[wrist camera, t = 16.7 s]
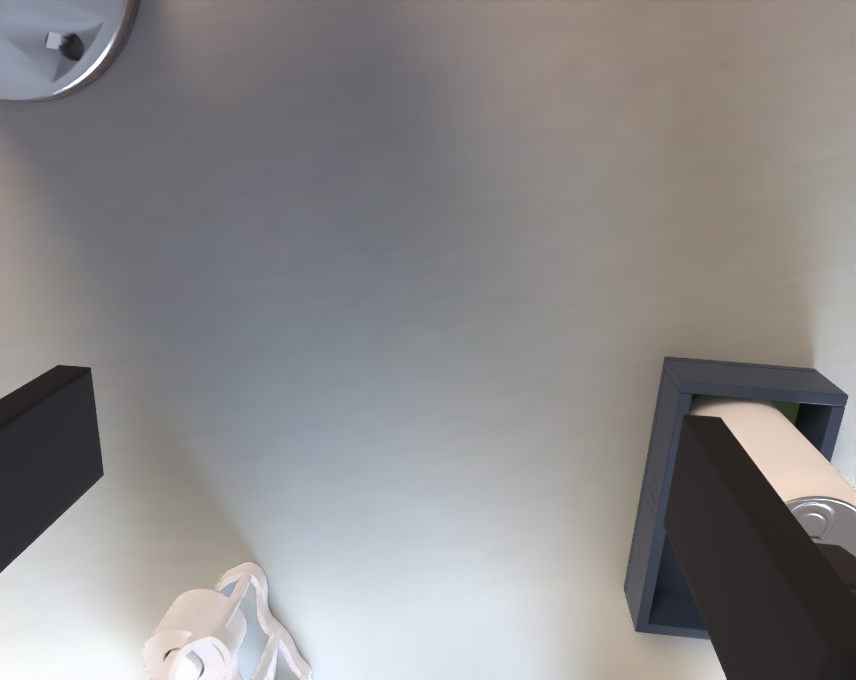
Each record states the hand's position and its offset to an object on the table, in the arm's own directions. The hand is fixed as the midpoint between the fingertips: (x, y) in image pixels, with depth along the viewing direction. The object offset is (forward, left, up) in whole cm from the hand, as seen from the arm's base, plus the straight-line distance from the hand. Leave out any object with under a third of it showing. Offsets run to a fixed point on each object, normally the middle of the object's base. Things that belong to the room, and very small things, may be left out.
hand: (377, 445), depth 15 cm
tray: (+15, +18, -26) cm, 35 cm away
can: (+10, +17, -26) cm, 33 cm away
